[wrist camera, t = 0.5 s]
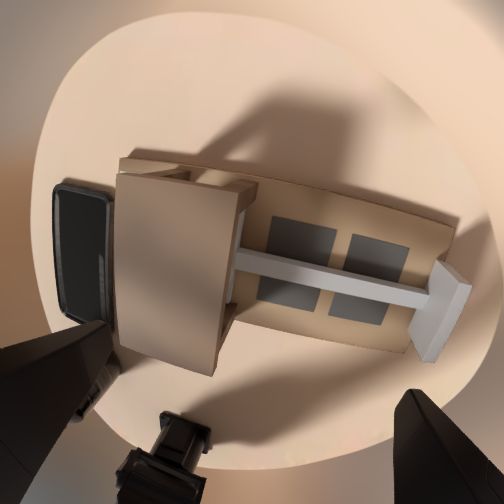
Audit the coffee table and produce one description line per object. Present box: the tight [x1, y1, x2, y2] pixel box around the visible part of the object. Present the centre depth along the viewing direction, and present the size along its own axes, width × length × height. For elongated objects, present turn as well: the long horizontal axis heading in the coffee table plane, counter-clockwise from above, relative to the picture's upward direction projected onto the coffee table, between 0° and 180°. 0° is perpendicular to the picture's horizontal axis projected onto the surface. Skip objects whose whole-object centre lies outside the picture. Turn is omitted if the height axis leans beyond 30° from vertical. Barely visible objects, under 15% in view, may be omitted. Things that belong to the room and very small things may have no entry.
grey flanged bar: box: [226, 209, 473, 363], centre depth 18 cm, size 7×20×4 cm, turn 80°
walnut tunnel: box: [114, 169, 259, 377], centre depth 18 cm, size 11×6×7 cm, turn 170°
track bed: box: [118, 157, 455, 354], centre depth 21 cm, size 11×26×1 cm, turn 80°
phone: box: [52, 183, 115, 333], centre depth 25 cm, size 8×1×15 cm
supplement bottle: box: [65, 351, 120, 428], centre depth 24 cm, size 7×7×12 cm
